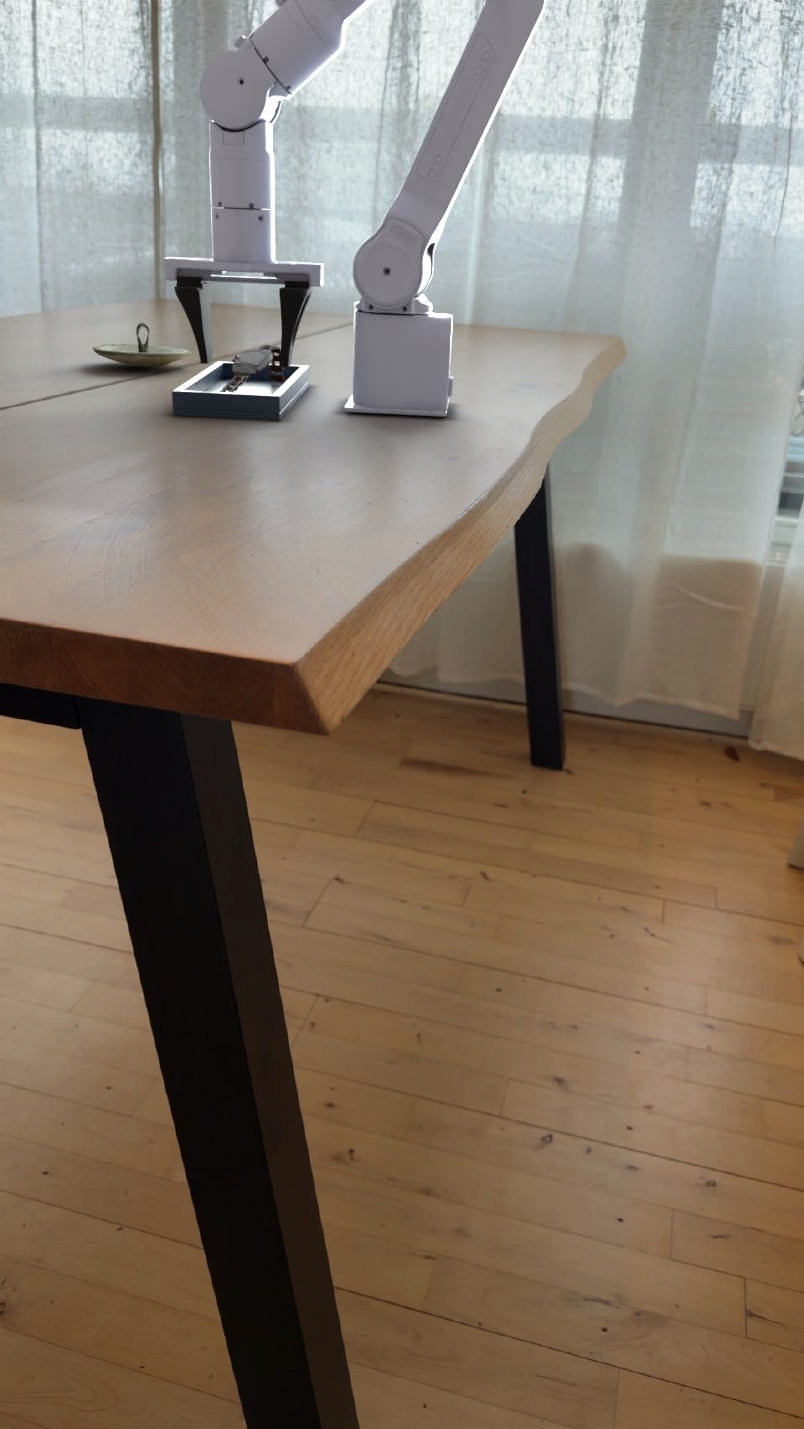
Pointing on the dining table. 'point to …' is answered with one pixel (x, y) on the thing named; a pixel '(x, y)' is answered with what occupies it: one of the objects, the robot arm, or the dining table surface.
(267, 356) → the wristwatch
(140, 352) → the lid
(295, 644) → the dining table surface
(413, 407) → the robot arm
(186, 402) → the holder
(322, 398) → the dining table surface
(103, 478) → the dining table surface
